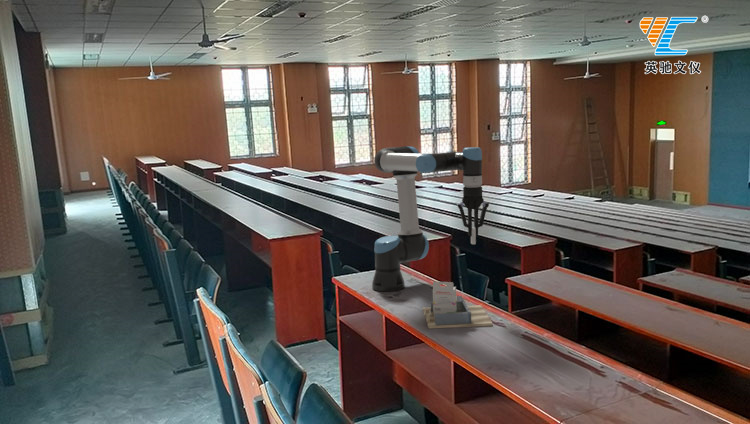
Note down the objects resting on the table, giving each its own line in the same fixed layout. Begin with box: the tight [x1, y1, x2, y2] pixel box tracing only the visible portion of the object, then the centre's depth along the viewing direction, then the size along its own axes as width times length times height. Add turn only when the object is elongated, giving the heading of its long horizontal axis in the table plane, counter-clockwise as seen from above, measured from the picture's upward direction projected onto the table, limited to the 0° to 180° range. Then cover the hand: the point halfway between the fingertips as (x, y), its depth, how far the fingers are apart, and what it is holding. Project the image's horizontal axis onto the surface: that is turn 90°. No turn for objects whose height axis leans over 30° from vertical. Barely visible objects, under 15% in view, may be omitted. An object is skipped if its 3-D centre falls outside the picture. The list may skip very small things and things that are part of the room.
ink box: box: [432, 281, 457, 318], centre depth 226 cm, size 9×5×15 cm, turn 72°
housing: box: [429, 295, 471, 325], centre depth 229 cm, size 21×14×4 cm, turn 1°
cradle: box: [422, 304, 493, 329], centre depth 229 cm, size 21×24×4 cm
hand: (473, 243), depth 238 cm, fingers closed
